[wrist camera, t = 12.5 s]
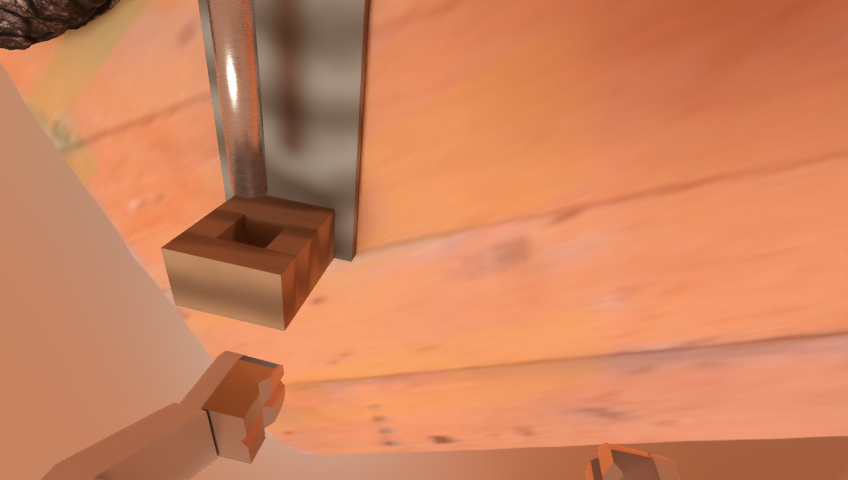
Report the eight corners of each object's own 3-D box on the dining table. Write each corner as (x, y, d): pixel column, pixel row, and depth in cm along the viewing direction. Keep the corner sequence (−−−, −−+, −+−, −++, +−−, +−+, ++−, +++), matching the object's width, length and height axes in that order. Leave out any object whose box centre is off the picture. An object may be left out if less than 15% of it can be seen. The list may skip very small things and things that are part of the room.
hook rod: (244, -132, 27) (168, -170, 21) (289, -125, 27) (225, -162, 21) (266, 162, 38) (221, 193, 32) (298, 169, 38) (258, 201, 32)
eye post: (187, -149, 29) (-3, -239, 18) (376, -122, 28) (293, -201, 17) (237, 229, 46) (154, 300, 35) (354, 255, 45) (306, 336, 34)
